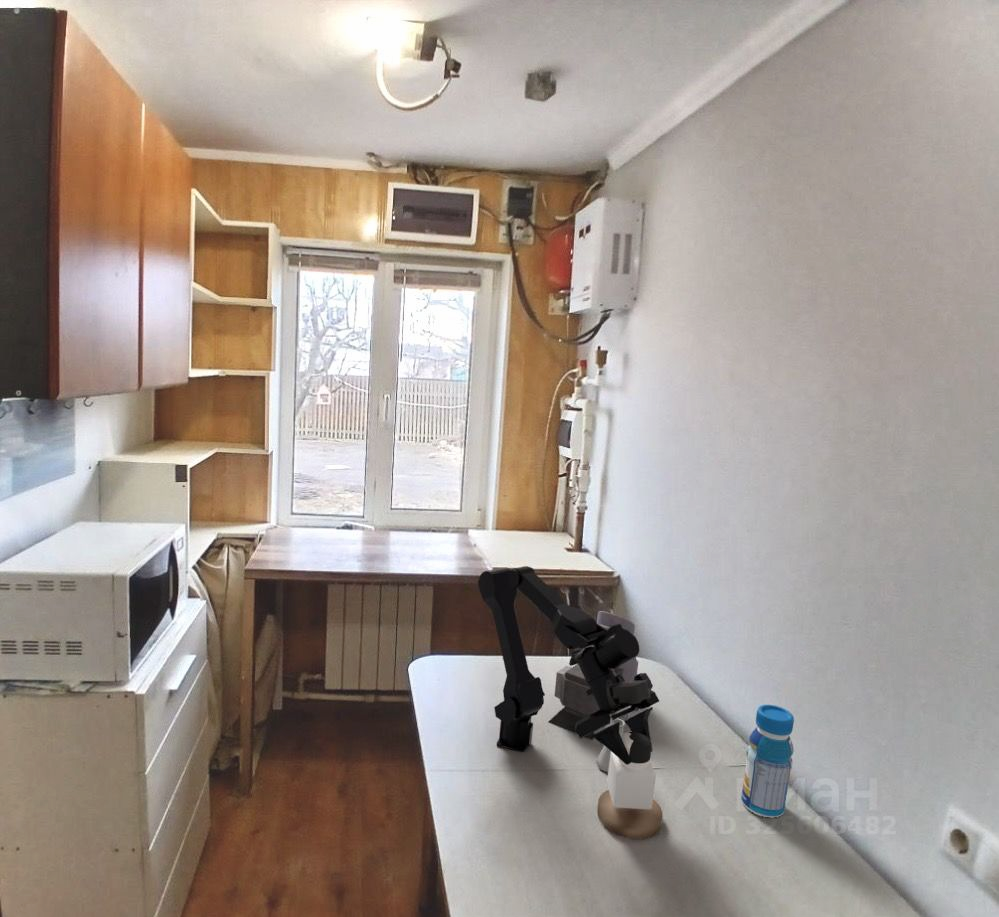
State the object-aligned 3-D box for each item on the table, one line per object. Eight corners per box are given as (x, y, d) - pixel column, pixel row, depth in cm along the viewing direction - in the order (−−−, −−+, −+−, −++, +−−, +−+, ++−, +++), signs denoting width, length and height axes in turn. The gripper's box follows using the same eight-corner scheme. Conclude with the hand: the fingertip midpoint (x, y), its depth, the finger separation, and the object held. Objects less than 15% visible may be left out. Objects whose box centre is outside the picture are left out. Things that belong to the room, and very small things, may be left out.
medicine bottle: (642, 786, 131) (650, 728, 129) (651, 810, 124) (659, 750, 122) (606, 783, 131) (613, 726, 129) (613, 808, 124) (620, 747, 122)
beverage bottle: (764, 824, 129) (778, 727, 127) (730, 798, 137) (743, 705, 134) (794, 814, 133) (808, 719, 131) (760, 789, 141) (773, 698, 138)
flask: (629, 778, 141) (634, 733, 140) (594, 771, 142) (599, 727, 141) (630, 759, 148) (635, 716, 147) (596, 753, 149) (601, 710, 148)
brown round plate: (592, 828, 124) (593, 818, 124) (601, 791, 136) (602, 781, 136) (659, 846, 121) (660, 836, 121) (662, 806, 133) (664, 796, 132)
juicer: (595, 677, 187) (604, 591, 183) (650, 696, 178) (660, 607, 174) (539, 719, 162) (548, 621, 158) (600, 744, 153) (611, 641, 150)
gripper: (594, 673, 120) (637, 761, 114) (657, 650, 133) (699, 729, 126) (558, 696, 127) (596, 780, 121) (621, 672, 140) (658, 747, 133)
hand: (639, 758), depth 125 cm, fingers closed on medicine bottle, 6 cm apart
